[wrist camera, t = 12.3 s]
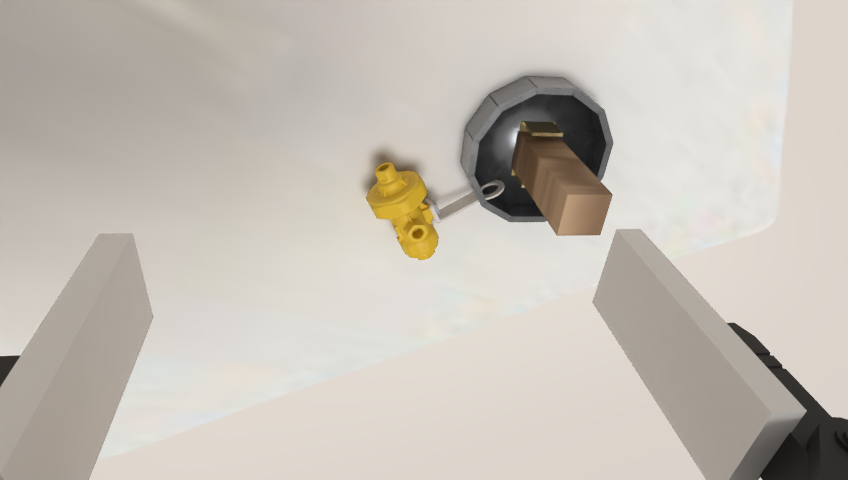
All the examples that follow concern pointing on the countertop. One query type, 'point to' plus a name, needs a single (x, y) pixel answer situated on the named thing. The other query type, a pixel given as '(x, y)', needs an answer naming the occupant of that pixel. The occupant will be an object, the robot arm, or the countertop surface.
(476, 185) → the tin
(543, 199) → the wooden beam block
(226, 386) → the countertop surface
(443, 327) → the countertop surface
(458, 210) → the pressure relief valve
